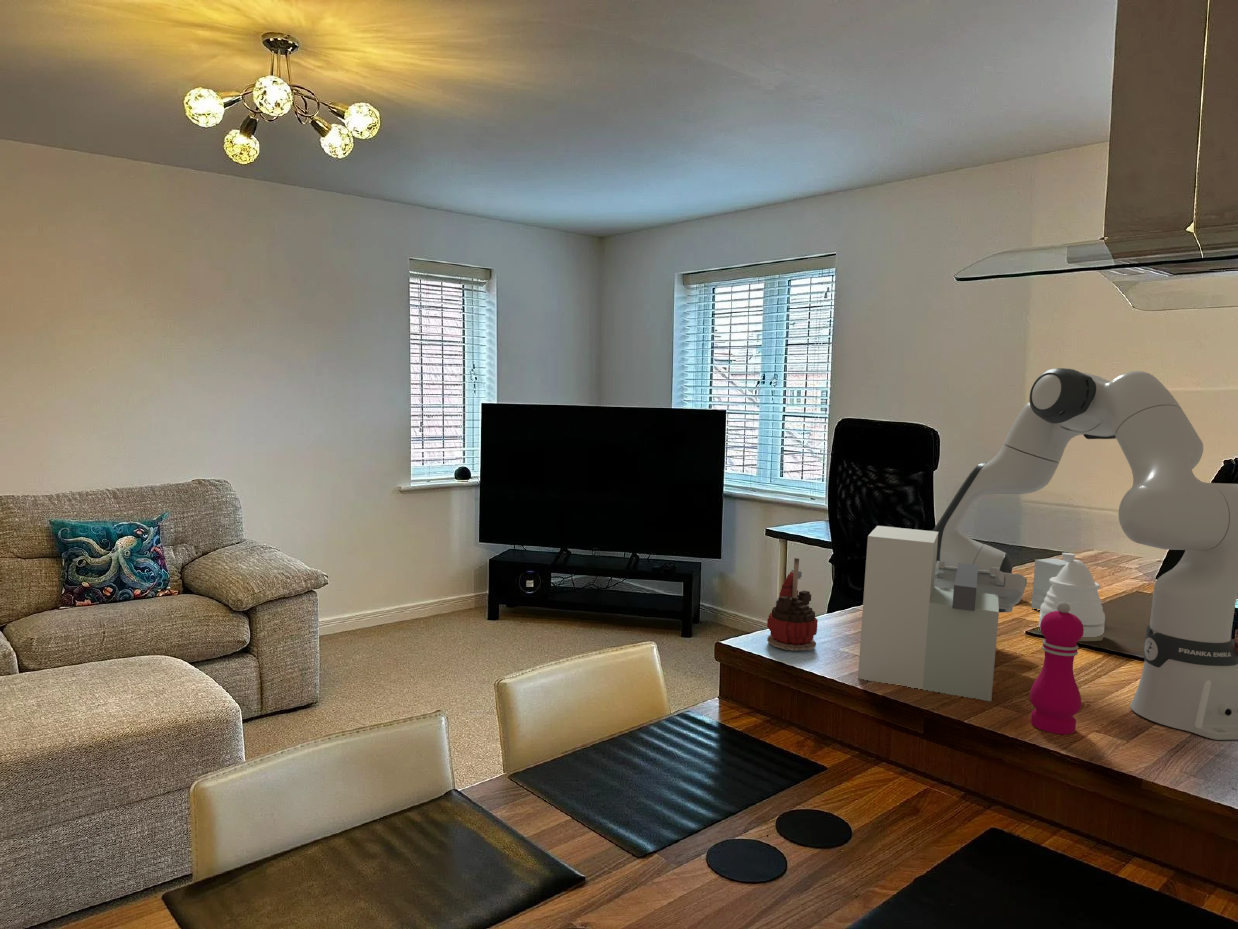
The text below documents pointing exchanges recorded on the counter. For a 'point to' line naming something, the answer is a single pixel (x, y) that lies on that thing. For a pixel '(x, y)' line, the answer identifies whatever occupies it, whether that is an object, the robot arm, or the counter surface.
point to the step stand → (922, 621)
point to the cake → (792, 616)
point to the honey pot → (1076, 596)
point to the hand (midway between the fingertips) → (967, 568)
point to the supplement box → (1044, 578)
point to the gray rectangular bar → (965, 587)
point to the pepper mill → (1057, 673)
